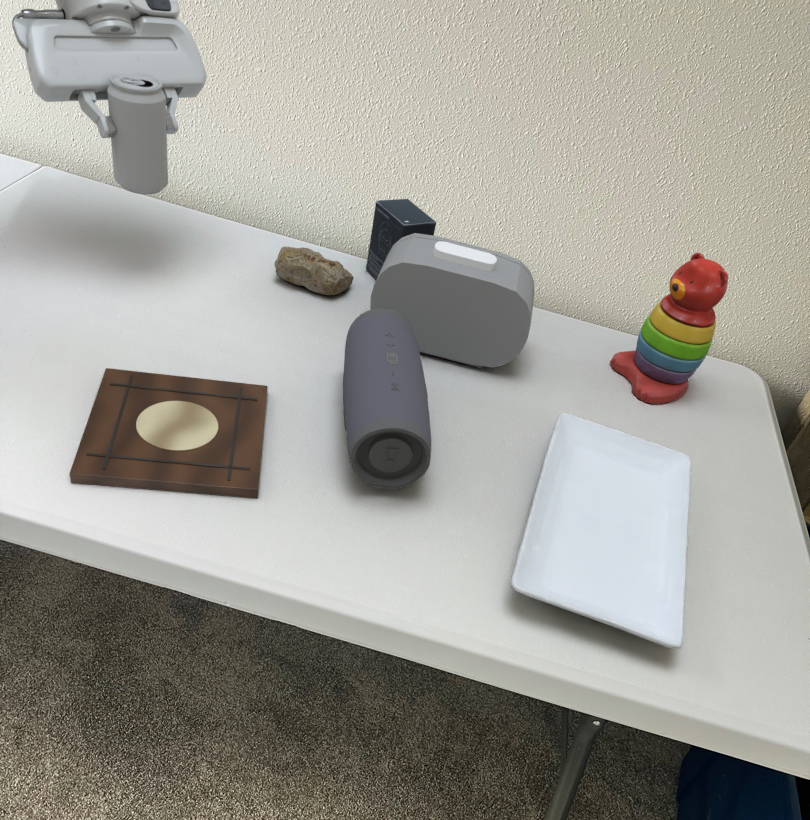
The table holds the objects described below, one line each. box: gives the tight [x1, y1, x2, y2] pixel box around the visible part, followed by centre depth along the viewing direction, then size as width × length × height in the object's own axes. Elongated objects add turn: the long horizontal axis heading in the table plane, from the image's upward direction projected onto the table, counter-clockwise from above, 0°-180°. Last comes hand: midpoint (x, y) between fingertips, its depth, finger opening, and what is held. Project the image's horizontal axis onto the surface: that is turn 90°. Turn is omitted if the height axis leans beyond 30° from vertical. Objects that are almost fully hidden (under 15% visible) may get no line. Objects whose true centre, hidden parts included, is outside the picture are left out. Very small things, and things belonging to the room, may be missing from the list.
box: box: [365, 198, 437, 280], centre depth 113 cm, size 8×6×11 cm
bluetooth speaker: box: [342, 308, 432, 490], centre depth 87 cm, size 23×9×10 cm, turn 4°
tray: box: [510, 412, 692, 650], centre depth 84 cm, size 17×31×4 cm, turn 163°
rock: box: [274, 245, 354, 296], centre depth 110 cm, size 8×11×4 cm
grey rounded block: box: [369, 233, 535, 369], centre depth 102 cm, size 21×10×13 cm, turn 80°
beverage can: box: [107, 74, 169, 195], centre depth 93 cm, size 6×6×12 cm
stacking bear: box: [609, 252, 729, 405], centre depth 104 cm, size 11×10×18 cm
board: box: [68, 367, 269, 499], centre depth 84 cm, size 18×18×1 cm
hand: (141, 133), depth 93 cm, fingers closed on beverage can, 6 cm apart
